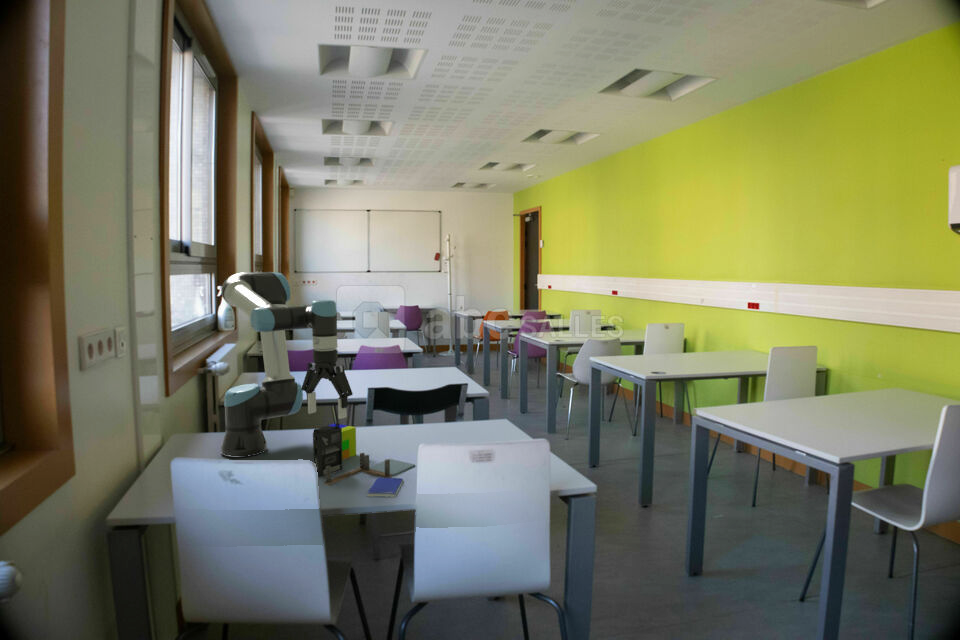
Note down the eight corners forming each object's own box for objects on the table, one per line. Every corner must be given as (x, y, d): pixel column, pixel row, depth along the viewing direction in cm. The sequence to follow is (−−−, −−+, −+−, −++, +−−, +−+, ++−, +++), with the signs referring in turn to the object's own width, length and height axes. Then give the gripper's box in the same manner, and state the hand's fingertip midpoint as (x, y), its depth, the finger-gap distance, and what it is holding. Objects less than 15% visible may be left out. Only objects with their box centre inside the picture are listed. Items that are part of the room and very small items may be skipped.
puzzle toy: (335, 450, 207) (334, 423, 207) (356, 455, 202) (355, 427, 201) (314, 458, 199) (313, 430, 198) (335, 463, 194) (334, 434, 193)
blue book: (394, 493, 165) (403, 478, 177) (366, 492, 166) (376, 477, 178) (394, 498, 165) (403, 483, 178) (366, 498, 166) (376, 482, 178)
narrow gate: (387, 478, 180) (386, 461, 179) (362, 472, 185) (362, 455, 185) (391, 476, 182) (391, 459, 181) (367, 470, 187) (366, 454, 186)
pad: (367, 469, 188) (367, 468, 187) (389, 460, 197) (389, 458, 197) (393, 476, 182) (393, 474, 182) (415, 465, 191) (415, 464, 191)
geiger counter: (336, 465, 191) (335, 421, 190) (345, 468, 188) (344, 423, 187) (310, 474, 183) (308, 428, 182) (319, 477, 180) (317, 430, 179)
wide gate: (324, 484, 175) (324, 466, 175) (361, 468, 189) (361, 452, 188) (329, 485, 174) (328, 468, 174) (366, 469, 188) (366, 453, 187)
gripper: (288, 348, 185) (291, 413, 187) (345, 353, 172) (347, 423, 174) (307, 345, 192) (309, 408, 194) (362, 350, 179) (364, 417, 180)
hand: (327, 415), depth 184 cm, fingers open, 13 cm apart
